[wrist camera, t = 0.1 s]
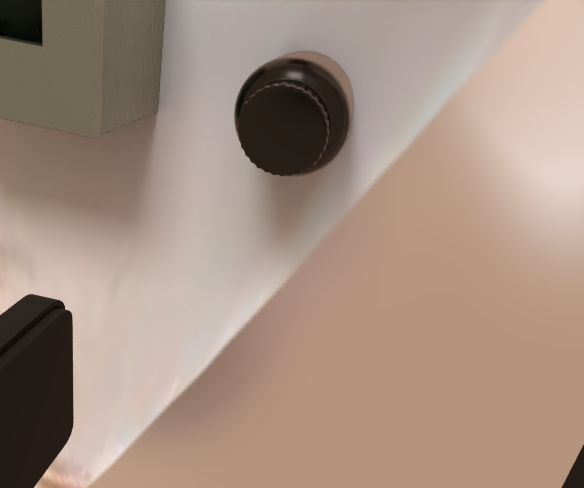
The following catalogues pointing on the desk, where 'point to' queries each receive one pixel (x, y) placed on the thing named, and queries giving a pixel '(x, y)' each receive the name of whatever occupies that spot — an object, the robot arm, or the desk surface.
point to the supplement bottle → (294, 113)
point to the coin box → (80, 62)
